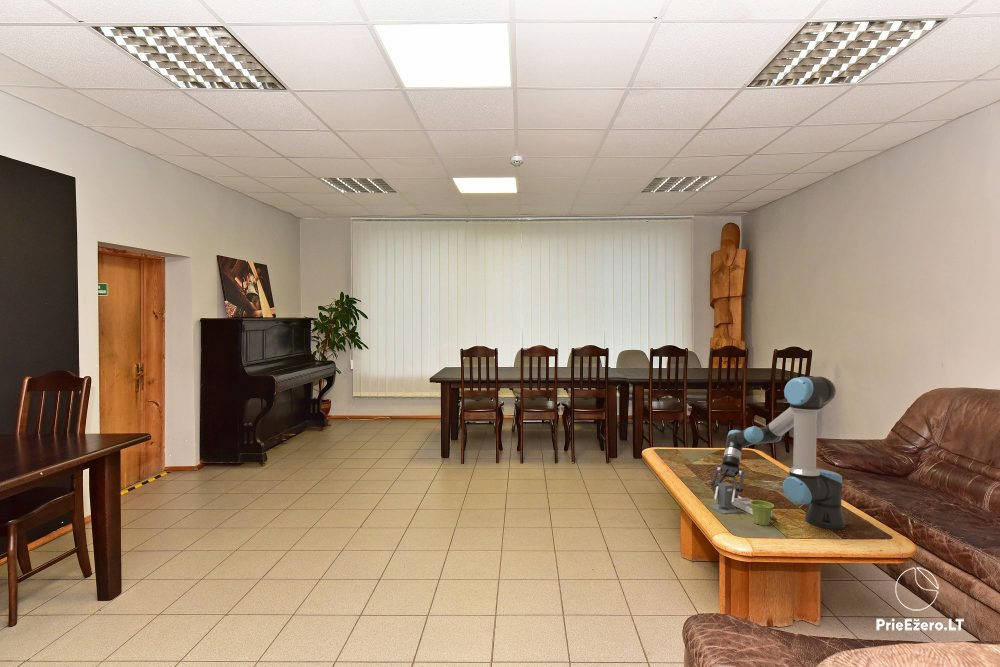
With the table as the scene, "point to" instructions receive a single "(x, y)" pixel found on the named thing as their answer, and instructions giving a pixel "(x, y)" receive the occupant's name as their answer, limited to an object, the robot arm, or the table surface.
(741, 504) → the white slab
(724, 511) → the pad
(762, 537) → the table surface
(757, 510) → the plant pot
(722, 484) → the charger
